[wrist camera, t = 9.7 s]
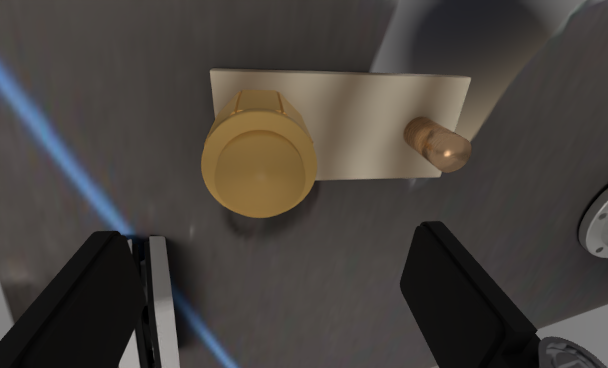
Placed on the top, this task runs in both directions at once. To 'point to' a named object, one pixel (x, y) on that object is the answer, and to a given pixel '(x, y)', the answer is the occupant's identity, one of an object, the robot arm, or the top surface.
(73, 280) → the robot arm
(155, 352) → the hinge
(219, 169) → the cap
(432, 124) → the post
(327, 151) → the plate
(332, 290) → the top surface
